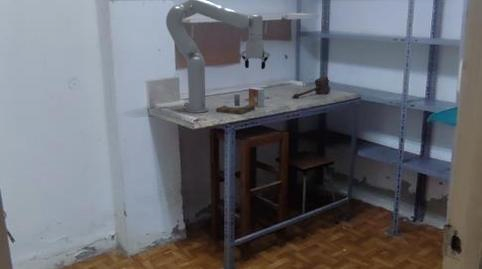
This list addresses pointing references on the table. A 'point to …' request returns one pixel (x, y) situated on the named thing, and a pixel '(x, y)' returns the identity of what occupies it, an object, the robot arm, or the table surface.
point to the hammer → (317, 87)
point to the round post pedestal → (236, 103)
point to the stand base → (235, 111)
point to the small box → (256, 97)
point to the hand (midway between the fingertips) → (254, 68)
